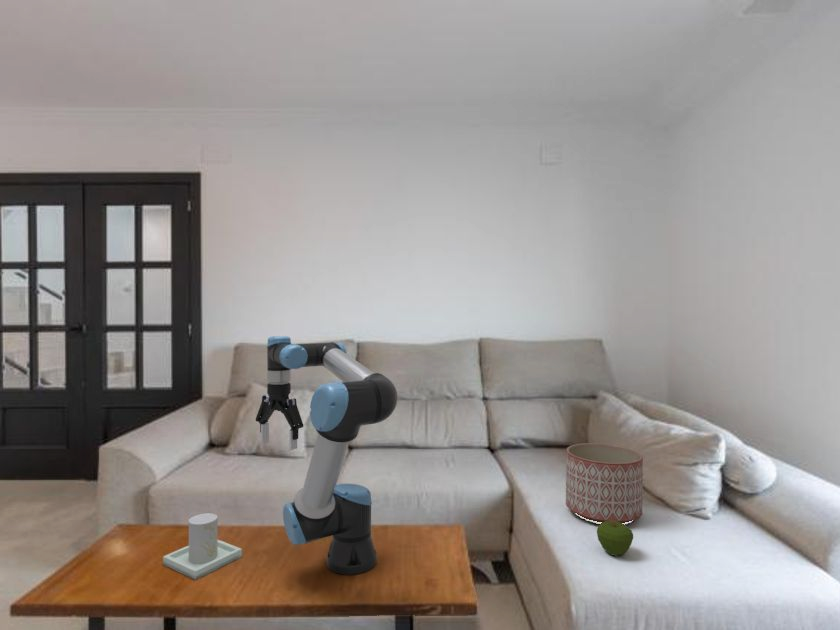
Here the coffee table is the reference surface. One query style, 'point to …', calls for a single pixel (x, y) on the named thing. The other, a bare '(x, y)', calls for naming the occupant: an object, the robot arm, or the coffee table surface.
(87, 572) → the coffee table surface
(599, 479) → the planter
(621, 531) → the apple
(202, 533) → the cup
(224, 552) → the tray
